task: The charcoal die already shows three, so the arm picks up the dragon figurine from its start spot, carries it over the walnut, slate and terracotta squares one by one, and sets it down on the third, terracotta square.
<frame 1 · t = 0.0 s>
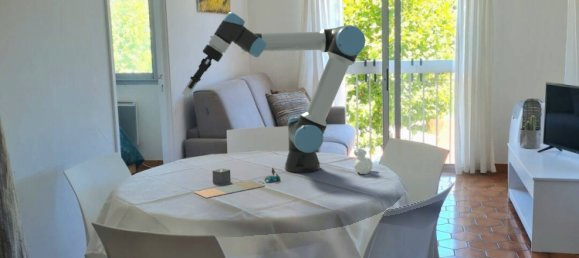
hand: (185, 93, 223), 36 cm above the table, tool tilted 35°, fingers open, 13 cm apart
duck figurine: (362, 172, 239), on the table
game board: (229, 189, 216), on the table
die: (221, 182, 228), on the table
dragon figurine: (270, 182, 227), on the table
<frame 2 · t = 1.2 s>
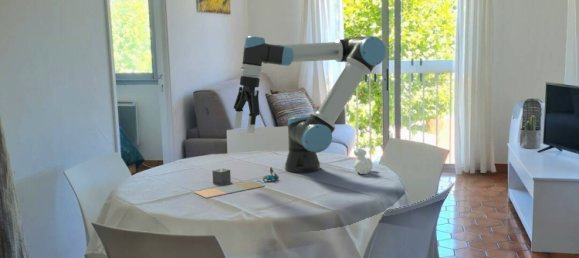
hand: (243, 130, 222), 21 cm above the table, tool pointing down, fingers open, 13 cm apart
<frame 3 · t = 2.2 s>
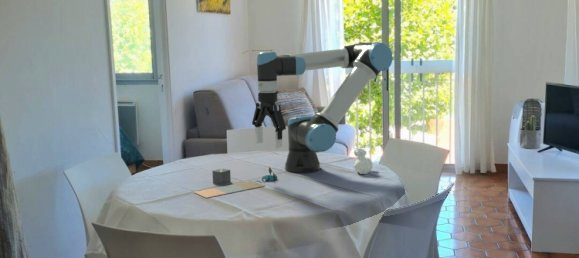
hand: (268, 145, 225), 15 cm above the table, tool pointing down, fingers open, 13 cm apart
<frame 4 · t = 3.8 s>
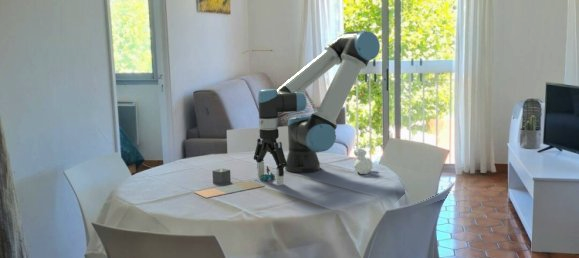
hand: (270, 180, 227), 0 cm above the table, tool pointing down, fingers open, 13 cm apart
dragon figurine: (265, 181, 230), on the table, touching gripper
everything else where it was.
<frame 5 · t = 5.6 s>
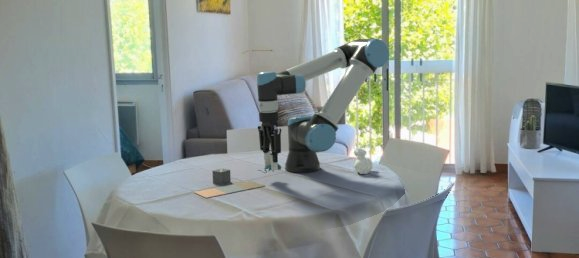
hand: (271, 169, 226), 5 cm above the table, tool pointing down, fingers closed on dragon figurine, 4 cm apart
dragon figurine: (270, 171, 227), point 4 cm above the table, touching gripper
everything else where it was.
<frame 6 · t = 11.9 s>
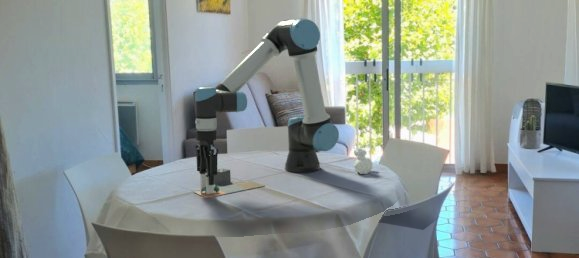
hand: (207, 192, 210), 1 cm above the table, tool pointing down, fingers closed on dragon figurine, 4 cm apart
dragon figurine: (207, 194, 211), on the table, touching game board, gripper
everything else where it was.
when the fingers open (1 cm above the table, at t = 12.2 s): dragon figurine stays where it is, resting on game board.
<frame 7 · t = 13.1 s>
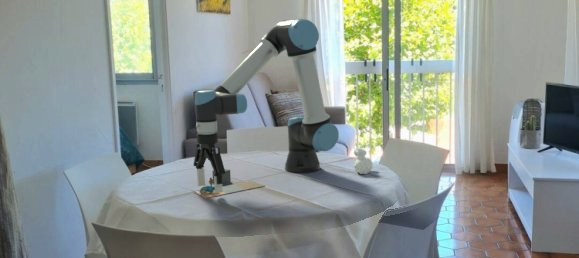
hand: (209, 188, 211), 2 cm above the table, tool pointing down, fingers open, 13 cm apart
dragon figurine: (207, 193, 211), resting on game board
everything else where it was.
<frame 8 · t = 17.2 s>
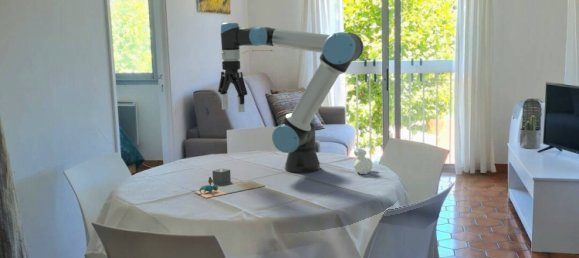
hand: (233, 110, 241), 27 cm above the table, tool pointing down, fingers open, 13 cm apart
dragon figurine: (206, 192, 212), resting on game board
everything else where it was.
at the end: dragon figurine inside the target area (1.6 cm from its centre), resting on game board; dragon figurine tilted 0°; the gripper is holding nothing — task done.
